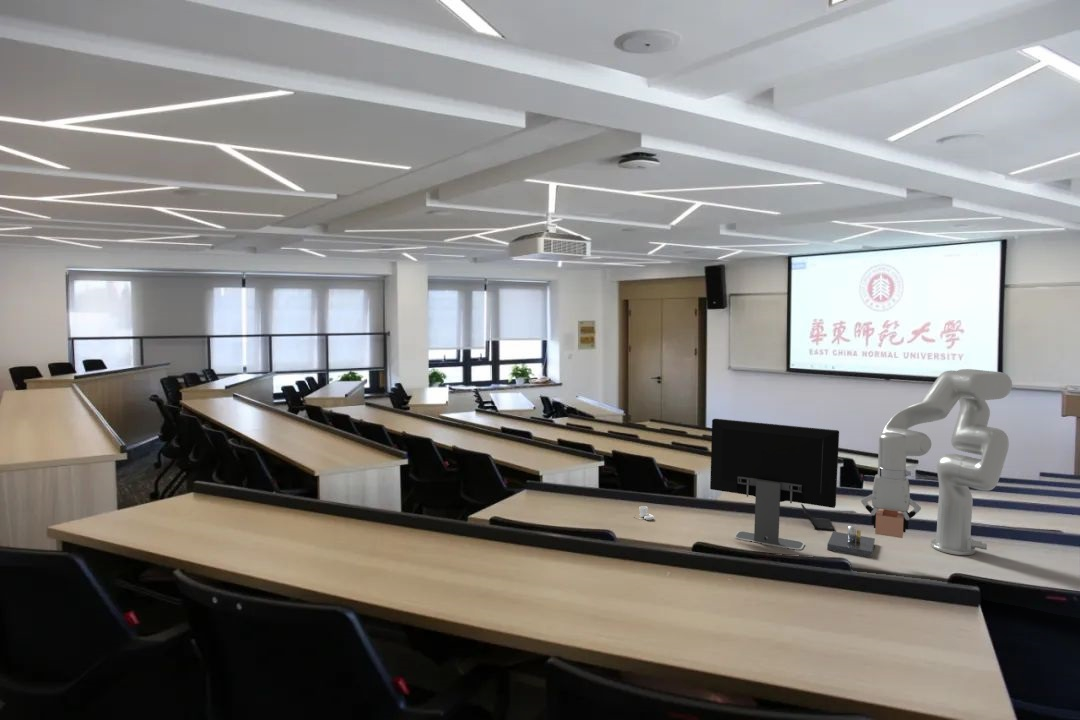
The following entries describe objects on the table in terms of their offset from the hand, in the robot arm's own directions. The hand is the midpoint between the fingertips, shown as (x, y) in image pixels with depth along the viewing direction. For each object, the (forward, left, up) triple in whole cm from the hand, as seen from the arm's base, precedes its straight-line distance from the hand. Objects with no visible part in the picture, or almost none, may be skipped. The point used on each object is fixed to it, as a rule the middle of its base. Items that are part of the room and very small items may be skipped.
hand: (889, 528), depth 206 cm
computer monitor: (+36, -2, -12) cm, 38 cm away
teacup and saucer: (+82, 0, -12) cm, 83 cm away
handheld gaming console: (+25, -28, -12) cm, 39 cm away
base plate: (+11, -10, -12) cm, 19 cm away
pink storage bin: (0, 0, -1) cm, 1 cm away
